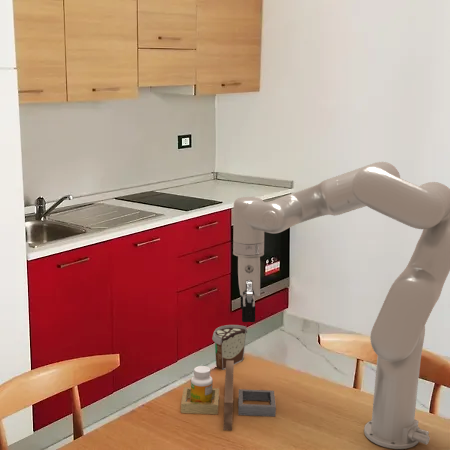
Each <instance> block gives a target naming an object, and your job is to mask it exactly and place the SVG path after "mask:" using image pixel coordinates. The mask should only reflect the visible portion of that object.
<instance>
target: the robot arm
mask: <svg viewBox="0 0 450 450" xmlns="http://www.w3.org/2000/svg"><path fill="white" fill-rule="evenodd" d="M364 207H368V209H369V208H370V209H372V210H373V211H376V212H378V213H379V214H381V215H384V216H386V217H388V218H391V219H393V220H395V221H397V222H399V223H400V224H401V223H402V224H404V225H405V226H408V227H410V228H413V229H416V230H417V229H418V230H422V232H421V235H420V237H419V239H418V241H417V242H416V245H415V247H414V251H413V252H412V254H411V257H410V259H409V261H408V263H407V265H406V267H404V270H402V272H401V273H400V274H399V275H398V277H396V279H395V280H394V281H393V283H392V284H391V286H390V289H389V290H388V292H387V294H386V296H385V299H384V301H383V303H382V305H381V307H380V310H379V313H378V314H377V316H376V319H375V322H374V324H373V326H372V329H371V331H370V338H369V340H370V345H371V347H372V349H373V352H374V353H375V355H377V358H376V369H375V376H374V377H375V379H374V388H373V389H374V390H373V391H374V392H373V400H372V402H373V403H372V411H371V412H372V413H371V415H372V416H371V420H370V421H368V422H367V423H366V424H364V428H363V433H364V435H365V437H366V438H367V439H368V440H369V441H370V442H372V443H373V444H376V445H378V446H380V447H384V448H387V449H394V450H404V449H405V450H406V449H410V448H413V447H415V446H416V445H418V444H419V443H421V444H424V445H426V446H427V445H428V444H429V442H430V436H429V433H430V432H429V431H428V430H425V429H421V428H420V427H419V420H418V419H415V418H416V407H417V396H418V386H419V378H420V368H421V359H422V354H423V353H422V352H423V347H424V341H425V336H426V335H425V334H426V324H427V322H428V320H429V317H430V315H431V313H432V311H433V310H434V307H435V306H436V303H437V302H439V299H440V297H441V294H442V290H443V288H444V285H445V283H446V280H447V278H448V275H449V274H450V188H449V186H446V185H445V184H443V183H440V182H435V181H430V182H425V183H423V184H421V185H417V184H415V183H413V182H410V181H407V180H404V179H403V178H401V175H400V173H399V170H398V169H397V167H395V166H394V165H393V164H391V163H389V162H386V161H377V162H373V163H370V164H368V165H365V166H361V167H359V168H356V169H353V170H351V171H350V170H349V171H348V172H343V173H342V174H339V175H336V176H333V177H330V178H327V179H324V180H323V181H320V182H319V183H318V184H316V185H313V186H310V187H308V188H304V189H302V190H298V191H296V192H293V193H290V194H287V195H285V196H281V197H279V198H276V199H273V200H271V201H264V200H263V199H262V198H260V197H255V196H241V197H238V198H237V199H235V200H234V203H233V218H232V219H233V221H232V223H233V227H232V229H233V230H232V231H233V232H232V233H233V234H232V235H233V239H232V240H233V241H232V243H233V244H232V249H233V251H232V255H233V256H236V257H237V276H238V288H239V295H240V310H241V322H243V323H255V322H256V305H255V303H256V302H255V300H256V299H255V297H260V296H261V257H263V256H264V255H265V233H268V234H279V233H282V232H284V231H286V230H288V229H289V228H292V227H293V226H295V225H298V224H302V223H304V222H307V221H310V220H313V219H316V218H319V217H324V216H328V215H329V216H333V217H335V216H340V215H343V214H346V213H349V212H352V211H355V210H358V209H361V208H364Z"/></svg>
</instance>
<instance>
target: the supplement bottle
mask: <svg viewBox="0 0 450 450" xmlns="http://www.w3.org/2000/svg"><path fill="white" fill-rule="evenodd" d="M213 381H214V379H213V377H212V376H211V368H210V367H209V366H205V365H199V366H196V367H194V368H193V376H192V377H191V379H190V387H191V398H190V401H189V402H204V403H213V399H212V388H213V383H214V382H213Z"/></svg>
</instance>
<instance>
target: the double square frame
mask: <svg viewBox="0 0 450 450" xmlns="http://www.w3.org/2000/svg"><path fill="white" fill-rule="evenodd" d="M237 396H238V402H237V403H238V411H237V412H238V416H249V417H251V416H252V417H276V414H277V413H276V412H277V411H276V410H277V405H276V404H277V403H276V397H275V390H268V389H266V390H263V389H244V388H243V389H242V388H239V389H238V395H237ZM188 399H191V386H190V387H189V386H184V387H183V391H182V397H181V402H180V413H181V414H193V415H195V414H198V415H199V414H201V415H218V414H219V399H220V388H218V387H217V388H216V387H214V388H213V387H212V400H214V402H212V403H204V402H190V401H188ZM244 401H252V402H253V401H255V402H256V401H257V402H269V404H254V403H253V404H251V403H244Z"/></svg>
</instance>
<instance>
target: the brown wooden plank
mask: <svg viewBox="0 0 450 450" xmlns="http://www.w3.org/2000/svg"><path fill="white" fill-rule="evenodd" d="M234 366H235V365H234V361H230V360H226V369H225V379H224V398H223V399H224V403H223V405H224V406H223V426H222V427H223V431H233V414H234V413H233V411H234V370H235V369H234V368H235V367H234Z"/></svg>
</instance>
